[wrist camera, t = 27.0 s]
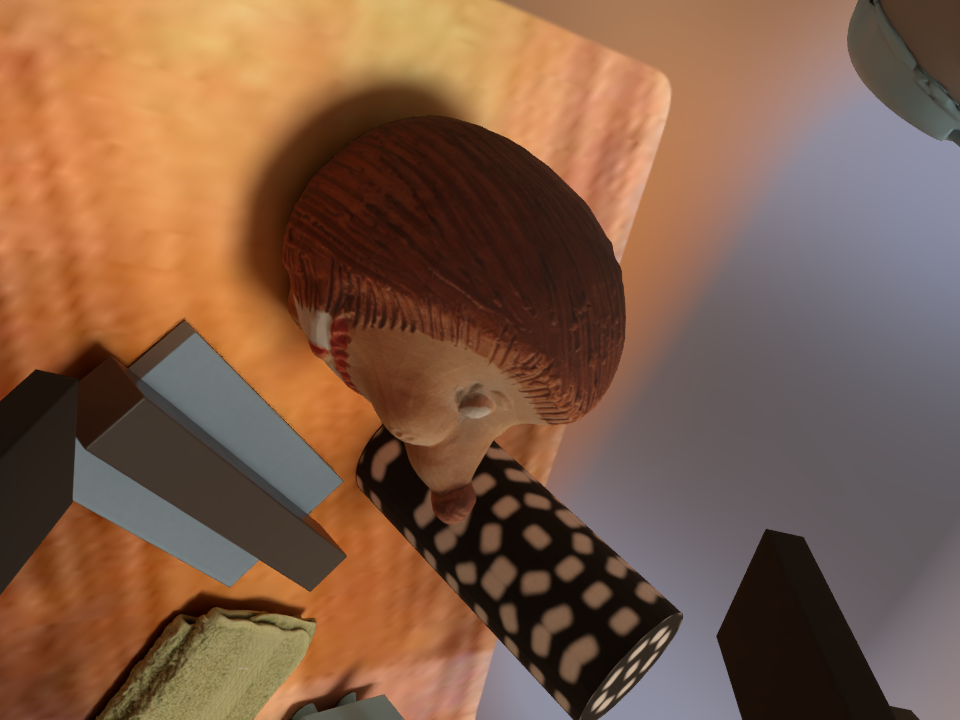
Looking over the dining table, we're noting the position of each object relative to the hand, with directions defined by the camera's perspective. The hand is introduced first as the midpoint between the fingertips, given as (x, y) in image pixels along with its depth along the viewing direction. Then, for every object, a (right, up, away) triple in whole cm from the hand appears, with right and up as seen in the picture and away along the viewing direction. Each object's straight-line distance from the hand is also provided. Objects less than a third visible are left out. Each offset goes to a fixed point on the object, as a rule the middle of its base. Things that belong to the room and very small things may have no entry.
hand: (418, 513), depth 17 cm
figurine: (-5, +9, +27) cm, 29 cm away
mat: (-13, -3, +29) cm, 32 cm away
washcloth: (-19, -19, +40) cm, 48 cm away
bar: (-12, -3, +28) cm, 31 cm away
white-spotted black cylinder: (-4, -3, +42) cm, 42 cm away
